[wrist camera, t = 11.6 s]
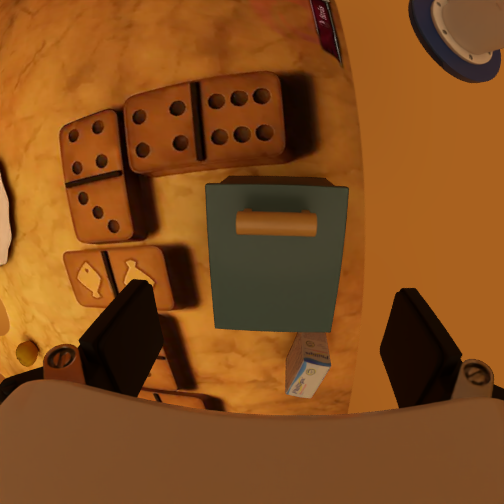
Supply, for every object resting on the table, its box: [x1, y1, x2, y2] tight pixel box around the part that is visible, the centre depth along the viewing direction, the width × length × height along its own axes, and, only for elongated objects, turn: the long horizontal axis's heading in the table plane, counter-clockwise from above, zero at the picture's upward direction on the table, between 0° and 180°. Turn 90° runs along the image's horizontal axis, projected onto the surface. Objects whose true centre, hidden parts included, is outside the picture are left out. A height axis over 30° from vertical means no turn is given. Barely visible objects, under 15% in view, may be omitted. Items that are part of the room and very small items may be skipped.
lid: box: [205, 183, 349, 332], centre depth 25 cm, size 15×13×5 cm
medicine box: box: [285, 332, 331, 398], centre depth 41 cm, size 8×4×9 cm, turn 166°
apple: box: [16, 341, 38, 367], centre depth 53 cm, size 6×6×8 cm
